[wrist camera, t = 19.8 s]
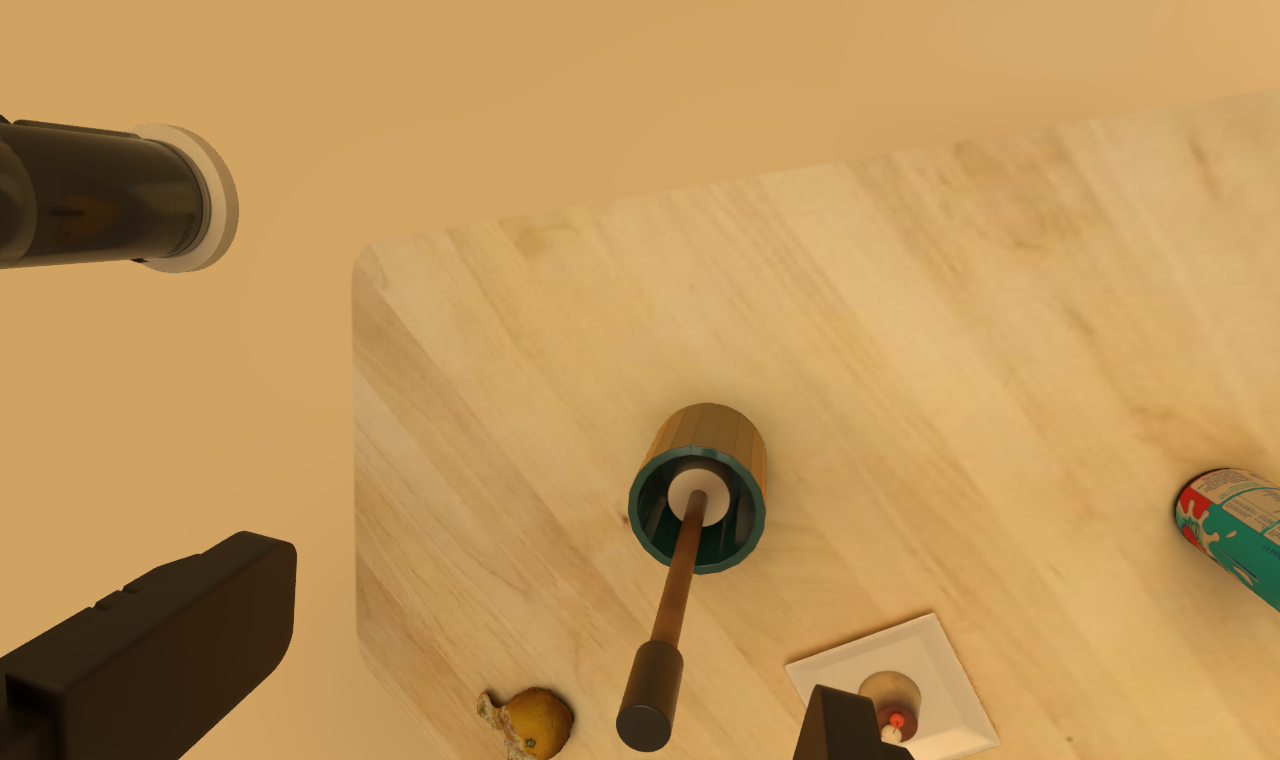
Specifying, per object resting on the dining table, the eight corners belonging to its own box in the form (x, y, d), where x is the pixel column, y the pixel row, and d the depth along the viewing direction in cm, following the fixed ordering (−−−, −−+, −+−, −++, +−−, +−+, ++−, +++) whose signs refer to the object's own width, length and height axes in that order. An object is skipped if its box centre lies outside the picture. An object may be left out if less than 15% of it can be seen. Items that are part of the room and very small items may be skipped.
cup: (630, 458, 54) (601, 512, 44) (703, 380, 51) (688, 418, 42) (713, 530, 54) (701, 599, 44) (789, 455, 51) (794, 511, 42)
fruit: (468, 696, 61) (450, 726, 58) (544, 661, 59) (530, 689, 56) (519, 771, 62) (504, 804, 59) (596, 739, 60) (585, 771, 57)
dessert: (930, 604, 52) (946, 642, 47) (997, 734, 54) (1019, 783, 49) (782, 657, 55) (784, 698, 51) (850, 779, 57) (857, 829, 52)
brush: (669, 461, 52) (566, 725, 25) (705, 424, 51) (636, 658, 24) (709, 497, 52) (649, 796, 26) (746, 460, 51) (722, 733, 24)
